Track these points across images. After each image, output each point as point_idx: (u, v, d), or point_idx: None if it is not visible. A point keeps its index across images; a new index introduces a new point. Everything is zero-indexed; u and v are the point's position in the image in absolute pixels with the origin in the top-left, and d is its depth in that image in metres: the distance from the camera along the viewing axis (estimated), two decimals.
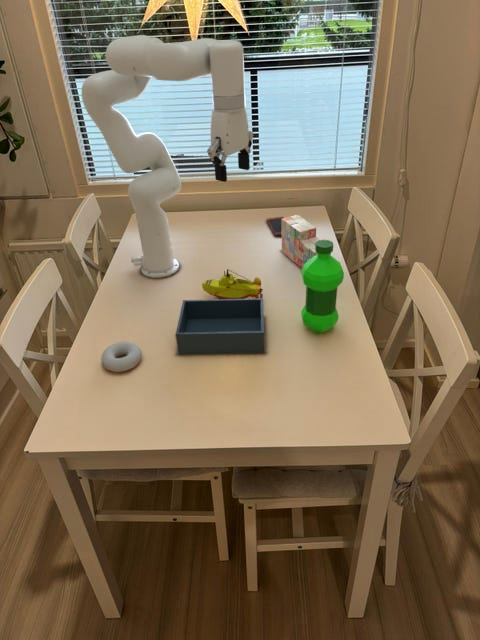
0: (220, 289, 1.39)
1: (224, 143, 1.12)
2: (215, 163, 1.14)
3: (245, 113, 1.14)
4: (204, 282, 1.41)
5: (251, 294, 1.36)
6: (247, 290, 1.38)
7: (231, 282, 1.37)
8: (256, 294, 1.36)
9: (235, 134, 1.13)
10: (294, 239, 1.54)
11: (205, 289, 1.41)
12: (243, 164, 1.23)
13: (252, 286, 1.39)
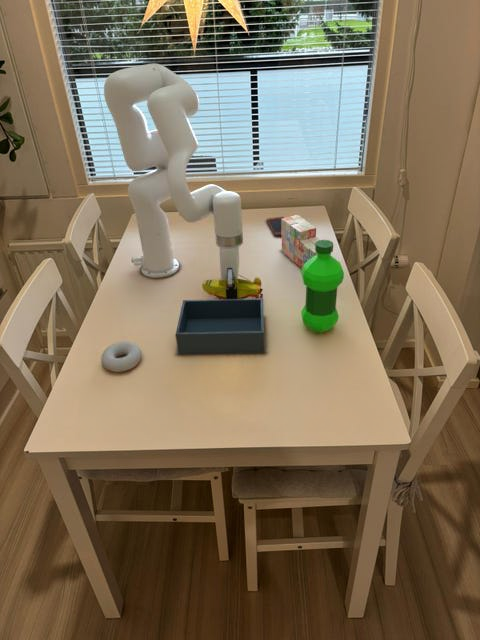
0: (220, 289, 1.39)
1: (236, 271, 1.31)
2: (230, 288, 1.34)
3: None
4: (204, 282, 1.41)
5: (251, 294, 1.36)
6: (247, 290, 1.38)
7: None
8: (256, 294, 1.36)
9: None
10: (294, 239, 1.54)
11: (205, 289, 1.41)
12: None
13: (252, 286, 1.39)
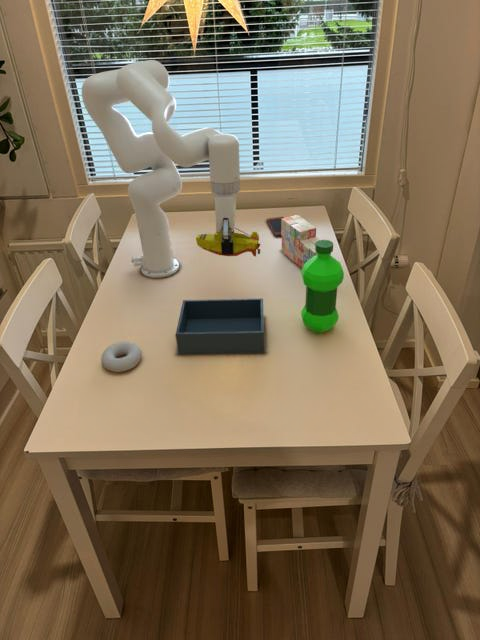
0: (215, 243, 1.30)
1: (232, 222, 1.23)
2: (226, 241, 1.26)
3: None
4: (198, 236, 1.32)
5: (248, 248, 1.28)
6: (244, 244, 1.29)
7: None
8: (253, 248, 1.28)
9: (235, 212, 1.25)
10: (294, 239, 1.54)
11: (199, 244, 1.33)
12: None
13: (249, 240, 1.30)
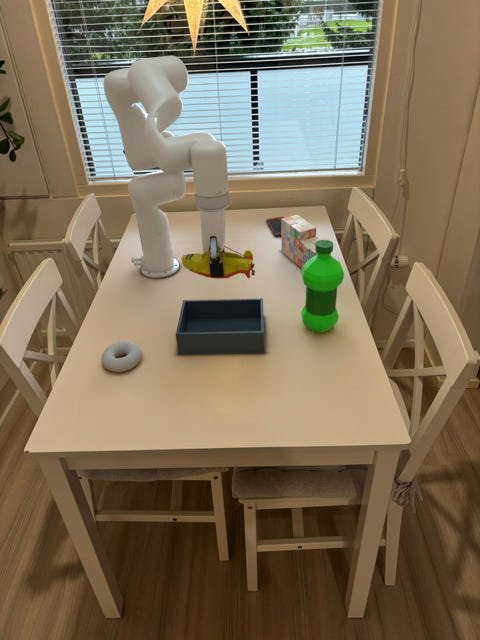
0: (203, 264, 1.14)
1: (221, 241, 1.07)
2: (214, 262, 1.10)
3: None
4: (184, 256, 1.16)
5: (240, 270, 1.12)
6: (236, 265, 1.13)
7: None
8: (247, 270, 1.11)
9: (224, 228, 1.09)
10: (294, 239, 1.54)
11: (185, 265, 1.17)
12: None
13: (242, 261, 1.14)
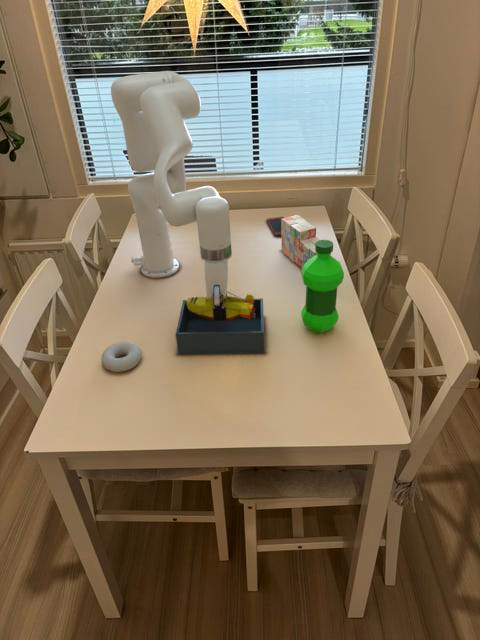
0: (207, 308, 1.21)
1: (224, 289, 1.14)
2: (217, 308, 1.17)
3: None
4: (189, 300, 1.23)
5: (242, 314, 1.18)
6: (238, 309, 1.20)
7: None
8: (248, 314, 1.18)
9: (227, 276, 1.16)
10: (294, 239, 1.54)
11: (190, 308, 1.23)
12: None
13: (243, 305, 1.21)
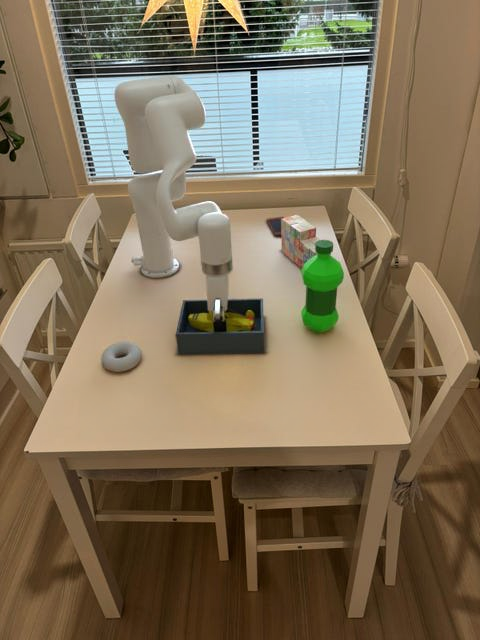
0: (208, 324, 1.24)
1: (224, 302, 1.16)
2: (218, 321, 1.17)
3: None
4: (190, 316, 1.26)
5: (243, 330, 1.22)
6: (239, 326, 1.23)
7: None
8: (248, 330, 1.21)
9: (228, 290, 1.18)
10: (294, 239, 1.54)
11: (192, 323, 1.26)
12: (222, 307, 1.28)
13: (244, 321, 1.24)
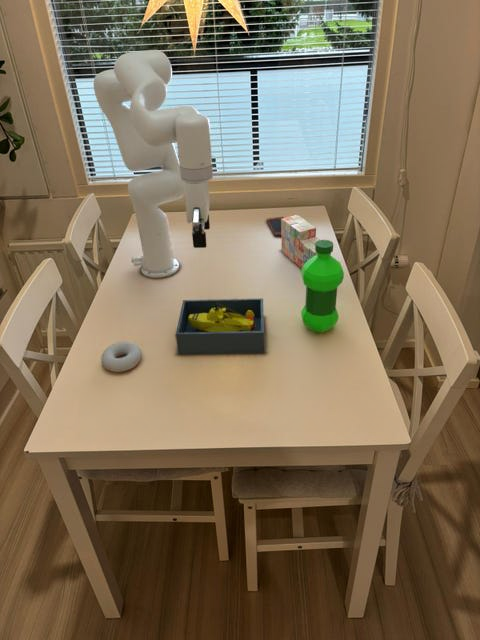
0: (208, 324, 1.24)
1: (204, 212, 1.11)
2: (197, 232, 1.13)
3: None
4: (190, 316, 1.26)
5: (243, 330, 1.22)
6: (239, 326, 1.23)
7: (220, 317, 1.22)
8: (248, 330, 1.21)
9: (208, 200, 1.13)
10: (294, 239, 1.54)
11: (192, 324, 1.26)
12: (203, 225, 1.23)
13: (244, 321, 1.24)
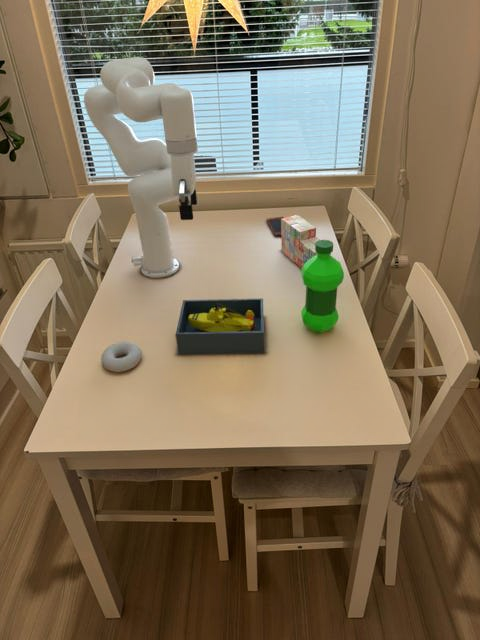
0: (208, 324, 1.24)
1: (189, 184, 1.16)
2: (183, 204, 1.17)
3: None
4: (190, 316, 1.26)
5: (243, 330, 1.22)
6: (239, 326, 1.23)
7: (220, 317, 1.22)
8: (248, 330, 1.21)
9: (193, 173, 1.18)
10: (294, 239, 1.54)
11: (192, 324, 1.26)
12: (191, 200, 1.28)
13: (244, 321, 1.24)
